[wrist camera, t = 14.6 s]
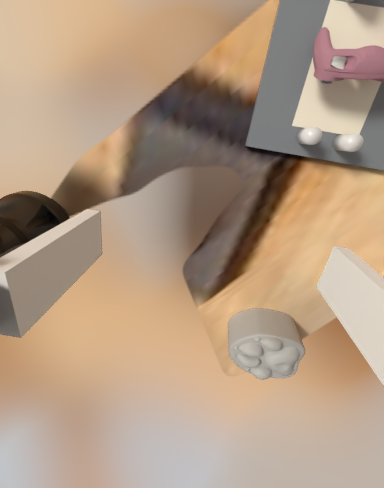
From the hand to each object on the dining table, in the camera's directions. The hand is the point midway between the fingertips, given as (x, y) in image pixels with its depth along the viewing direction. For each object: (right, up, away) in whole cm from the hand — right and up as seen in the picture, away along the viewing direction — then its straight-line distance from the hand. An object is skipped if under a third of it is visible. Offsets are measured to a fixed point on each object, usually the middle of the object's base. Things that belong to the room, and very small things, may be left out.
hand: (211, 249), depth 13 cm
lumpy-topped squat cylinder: (+13, -17, +36) cm, 42 cm away
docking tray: (+18, +22, +17) cm, 33 cm away
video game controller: (+18, +23, +16) cm, 33 cm away
